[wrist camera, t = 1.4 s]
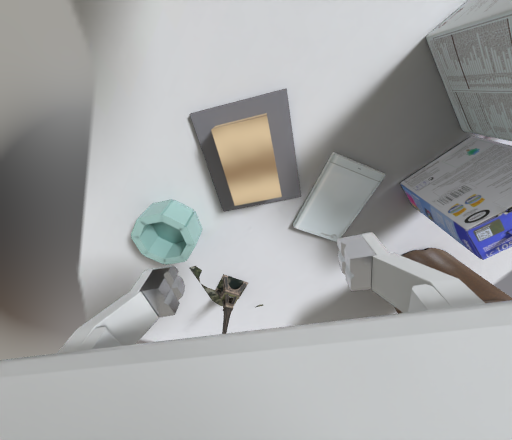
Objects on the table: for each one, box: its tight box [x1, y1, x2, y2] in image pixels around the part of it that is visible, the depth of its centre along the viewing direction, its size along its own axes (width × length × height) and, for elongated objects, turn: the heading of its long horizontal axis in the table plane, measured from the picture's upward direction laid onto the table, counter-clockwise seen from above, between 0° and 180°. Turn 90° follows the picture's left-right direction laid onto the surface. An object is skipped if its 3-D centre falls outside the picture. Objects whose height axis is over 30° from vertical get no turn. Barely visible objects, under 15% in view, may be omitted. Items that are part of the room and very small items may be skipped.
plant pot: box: [395, 248, 512, 314], centre depth 33 cm, size 16×16×16 cm
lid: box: [211, 113, 282, 206], centre depth 28 cm, size 10×6×3 cm, turn 13°
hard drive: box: [293, 152, 386, 242], centre depth 33 cm, size 2×8×12 cm
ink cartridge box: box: [401, 136, 512, 260], centre depth 24 cm, size 10×6×14 cm, turn 133°
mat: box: [190, 89, 301, 211], centre depth 30 cm, size 14×12×1 cm
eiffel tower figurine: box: [190, 266, 263, 334], centre depth 38 cm, size 15×10×13 cm
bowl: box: [131, 200, 202, 265], centre depth 34 cm, size 9×9×4 cm
